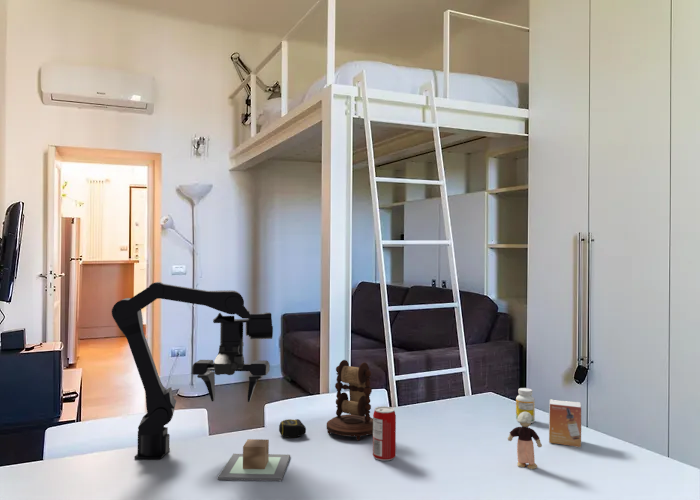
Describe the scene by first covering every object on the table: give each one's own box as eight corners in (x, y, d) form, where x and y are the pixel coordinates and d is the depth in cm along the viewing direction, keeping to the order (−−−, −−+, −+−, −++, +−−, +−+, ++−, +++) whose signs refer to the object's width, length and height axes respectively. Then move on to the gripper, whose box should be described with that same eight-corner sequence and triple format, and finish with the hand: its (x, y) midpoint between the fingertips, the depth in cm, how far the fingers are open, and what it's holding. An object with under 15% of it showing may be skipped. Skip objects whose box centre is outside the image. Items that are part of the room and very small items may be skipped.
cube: (242, 468, 119) (243, 446, 120) (247, 460, 124) (247, 439, 125) (264, 469, 119) (264, 447, 119) (268, 460, 124) (268, 439, 124)
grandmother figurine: (541, 464, 125) (541, 411, 125) (541, 471, 121) (541, 415, 122) (507, 460, 127) (508, 408, 128) (507, 466, 124) (507, 412, 124)
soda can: (398, 455, 130) (398, 406, 131) (390, 462, 125) (391, 412, 126) (377, 451, 133) (378, 403, 133) (369, 459, 128) (369, 409, 128)
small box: (548, 443, 140) (548, 403, 140) (549, 437, 145) (549, 398, 145) (581, 447, 137) (581, 407, 137) (580, 441, 142) (580, 401, 142)
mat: (217, 479, 115) (217, 476, 115) (233, 456, 129) (233, 453, 129) (281, 480, 115) (281, 477, 115) (290, 457, 129) (290, 454, 129)
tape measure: (306, 438, 143) (306, 424, 143) (281, 440, 141) (281, 426, 141) (301, 430, 149) (301, 417, 149) (277, 432, 147) (277, 419, 147)
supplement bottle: (530, 425, 155) (530, 392, 156) (513, 421, 159) (513, 389, 159) (537, 421, 160) (537, 389, 160) (519, 417, 163) (519, 386, 163)
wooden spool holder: (388, 430, 150) (389, 359, 150) (361, 445, 137) (362, 368, 138) (345, 421, 157) (345, 354, 158) (315, 435, 145) (316, 362, 145)
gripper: (185, 344, 127) (184, 409, 126) (262, 345, 126) (261, 410, 126) (199, 337, 138) (198, 397, 138) (270, 338, 137) (269, 398, 137)
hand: (231, 401), depth 134 cm, fingers open, 9 cm apart
